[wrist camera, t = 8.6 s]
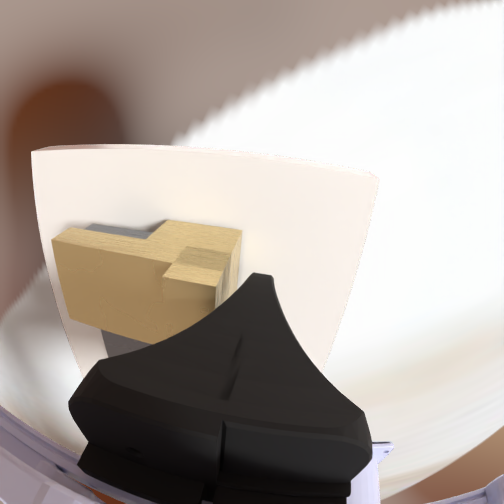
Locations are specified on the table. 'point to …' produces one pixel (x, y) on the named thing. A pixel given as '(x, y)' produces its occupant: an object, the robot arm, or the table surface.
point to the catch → (147, 277)
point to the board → (217, 221)
